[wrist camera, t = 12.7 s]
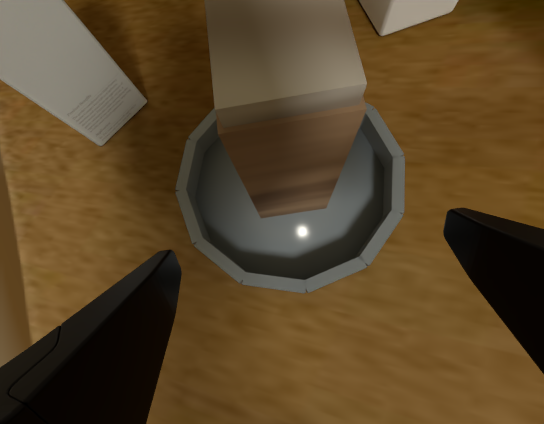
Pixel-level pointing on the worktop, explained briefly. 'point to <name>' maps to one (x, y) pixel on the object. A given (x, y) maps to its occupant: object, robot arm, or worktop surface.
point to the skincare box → (64, 68)
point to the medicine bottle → (403, 12)
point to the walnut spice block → (285, 97)
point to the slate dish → (298, 226)
